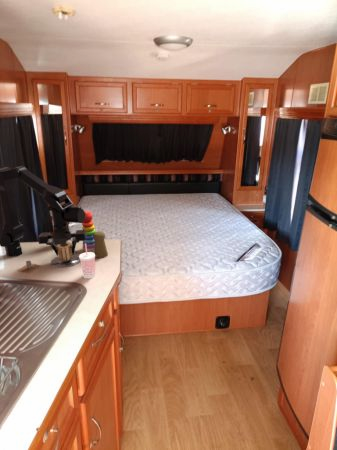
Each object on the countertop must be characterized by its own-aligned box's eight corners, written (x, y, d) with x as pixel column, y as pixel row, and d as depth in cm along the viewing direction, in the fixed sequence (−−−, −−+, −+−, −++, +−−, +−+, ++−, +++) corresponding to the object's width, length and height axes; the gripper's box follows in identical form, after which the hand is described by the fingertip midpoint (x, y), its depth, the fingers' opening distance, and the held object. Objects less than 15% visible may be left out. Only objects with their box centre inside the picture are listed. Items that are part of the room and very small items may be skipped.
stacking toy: (86, 245, 157) (81, 207, 150) (102, 245, 156) (98, 208, 149) (80, 252, 150) (74, 213, 143) (96, 253, 148) (92, 214, 142)
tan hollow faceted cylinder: (57, 261, 137) (55, 248, 134) (60, 255, 142) (58, 242, 140) (72, 260, 137) (70, 247, 135) (74, 254, 143) (72, 241, 141)
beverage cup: (98, 277, 128) (95, 245, 123) (83, 281, 126) (78, 248, 121) (95, 270, 133) (92, 239, 128) (80, 273, 131) (76, 242, 126)
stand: (17, 272, 133) (15, 264, 132) (29, 265, 139) (28, 256, 138) (30, 275, 131) (28, 266, 129) (42, 267, 137) (41, 259, 135)
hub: (44, 266, 137) (42, 253, 135) (64, 253, 149) (63, 241, 146) (69, 272, 133) (67, 258, 130) (88, 258, 144) (87, 245, 142)
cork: (109, 252, 149) (107, 229, 145) (105, 258, 143) (103, 235, 139) (96, 252, 149) (94, 229, 145) (92, 258, 144) (89, 235, 140)
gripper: (31, 229, 125) (38, 265, 131) (81, 226, 127) (86, 262, 133) (38, 219, 135) (44, 253, 141) (84, 216, 138) (88, 250, 143)
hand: (65, 255), depth 139 cm, fingers closed on tan hollow faceted cylinder, 6 cm apart
